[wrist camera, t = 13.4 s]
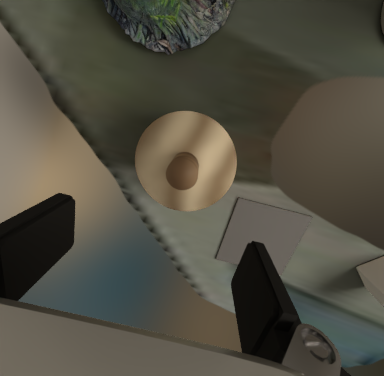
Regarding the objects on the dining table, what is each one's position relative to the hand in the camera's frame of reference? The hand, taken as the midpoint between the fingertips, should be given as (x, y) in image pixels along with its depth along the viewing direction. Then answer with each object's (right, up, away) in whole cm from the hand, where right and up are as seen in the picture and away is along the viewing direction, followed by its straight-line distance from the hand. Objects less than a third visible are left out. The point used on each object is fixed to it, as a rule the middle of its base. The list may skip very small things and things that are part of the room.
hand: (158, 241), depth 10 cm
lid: (+1, +7, +19) cm, 20 cm away
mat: (+17, -8, +32) cm, 37 cm away
